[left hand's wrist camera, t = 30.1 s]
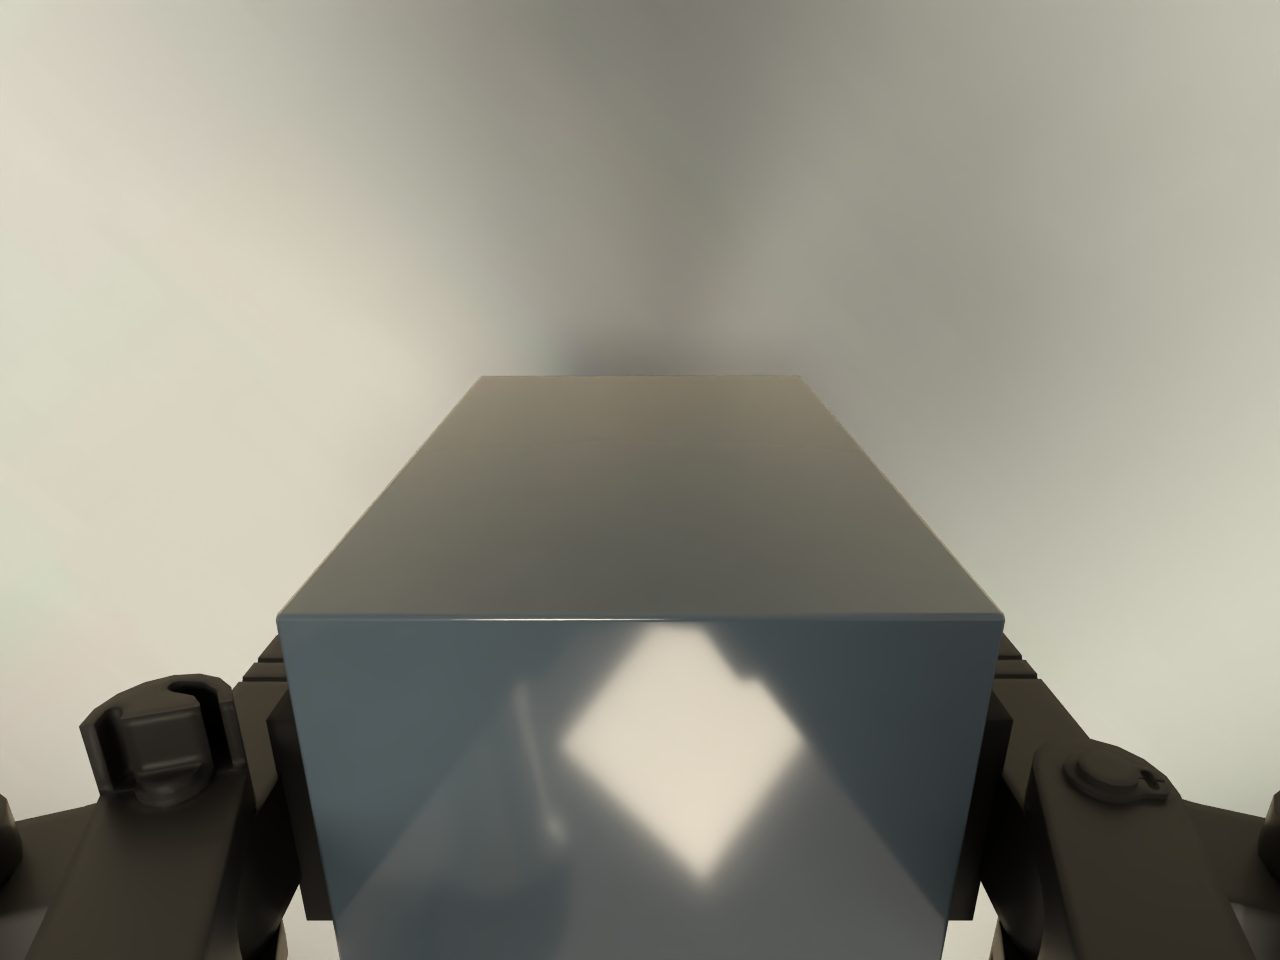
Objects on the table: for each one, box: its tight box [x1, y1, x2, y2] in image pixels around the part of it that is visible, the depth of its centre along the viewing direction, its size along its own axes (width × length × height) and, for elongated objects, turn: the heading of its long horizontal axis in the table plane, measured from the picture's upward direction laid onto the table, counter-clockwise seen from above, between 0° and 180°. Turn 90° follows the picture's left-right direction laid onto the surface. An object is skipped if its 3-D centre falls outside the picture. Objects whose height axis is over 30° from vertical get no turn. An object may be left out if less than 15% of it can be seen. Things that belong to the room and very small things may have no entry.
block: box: [276, 376, 1005, 960], centre depth 11 cm, size 6×6×9 cm
